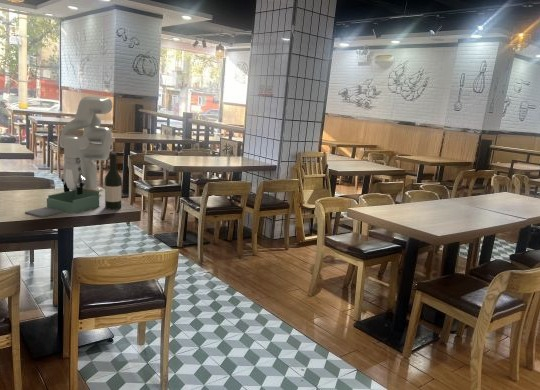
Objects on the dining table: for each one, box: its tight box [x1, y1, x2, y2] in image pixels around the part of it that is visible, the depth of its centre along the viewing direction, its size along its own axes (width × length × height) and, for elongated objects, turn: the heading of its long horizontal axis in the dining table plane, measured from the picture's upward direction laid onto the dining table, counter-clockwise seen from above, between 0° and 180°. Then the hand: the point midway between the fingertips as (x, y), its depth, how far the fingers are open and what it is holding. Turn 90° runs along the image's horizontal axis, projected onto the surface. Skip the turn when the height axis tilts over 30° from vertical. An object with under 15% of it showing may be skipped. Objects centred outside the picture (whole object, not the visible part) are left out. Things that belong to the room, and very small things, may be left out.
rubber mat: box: [24, 206, 64, 218], centre depth 219 cm, size 12×12×1 cm
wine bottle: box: [104, 152, 122, 211], centre depth 235 cm, size 8×8×30 cm
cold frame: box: [46, 188, 101, 214], centre depth 232 cm, size 18×18×9 cm
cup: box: [66, 169, 80, 191], centre depth 231 cm, size 7×7×21 cm
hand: (73, 193), depth 231 cm, fingers open, 8 cm apart
